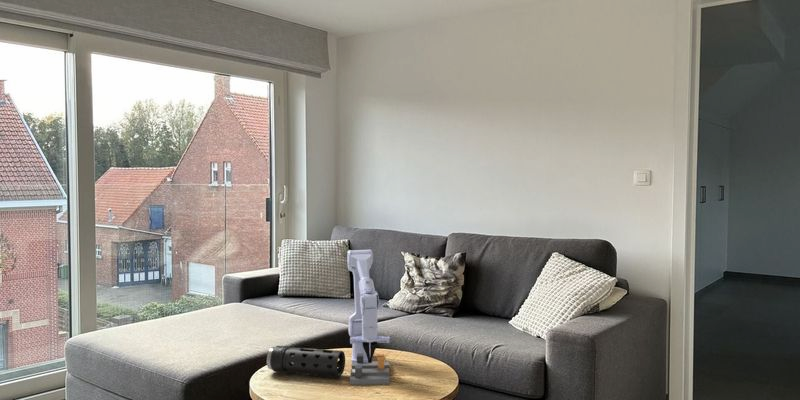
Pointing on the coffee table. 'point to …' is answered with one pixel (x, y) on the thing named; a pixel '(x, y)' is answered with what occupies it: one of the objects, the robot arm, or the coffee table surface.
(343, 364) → the muzzle brake
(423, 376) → the coffee table surface
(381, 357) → the handle
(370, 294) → the robot arm
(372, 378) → the box
